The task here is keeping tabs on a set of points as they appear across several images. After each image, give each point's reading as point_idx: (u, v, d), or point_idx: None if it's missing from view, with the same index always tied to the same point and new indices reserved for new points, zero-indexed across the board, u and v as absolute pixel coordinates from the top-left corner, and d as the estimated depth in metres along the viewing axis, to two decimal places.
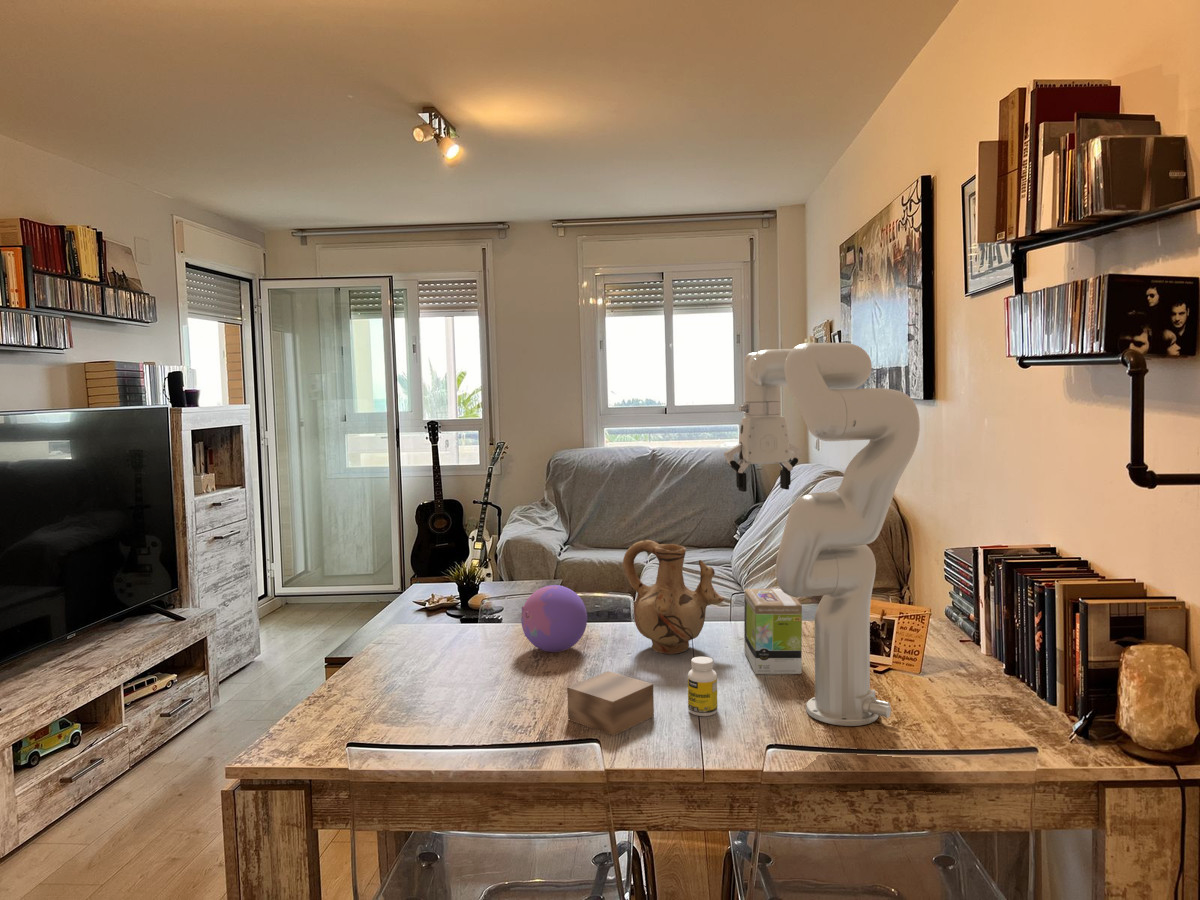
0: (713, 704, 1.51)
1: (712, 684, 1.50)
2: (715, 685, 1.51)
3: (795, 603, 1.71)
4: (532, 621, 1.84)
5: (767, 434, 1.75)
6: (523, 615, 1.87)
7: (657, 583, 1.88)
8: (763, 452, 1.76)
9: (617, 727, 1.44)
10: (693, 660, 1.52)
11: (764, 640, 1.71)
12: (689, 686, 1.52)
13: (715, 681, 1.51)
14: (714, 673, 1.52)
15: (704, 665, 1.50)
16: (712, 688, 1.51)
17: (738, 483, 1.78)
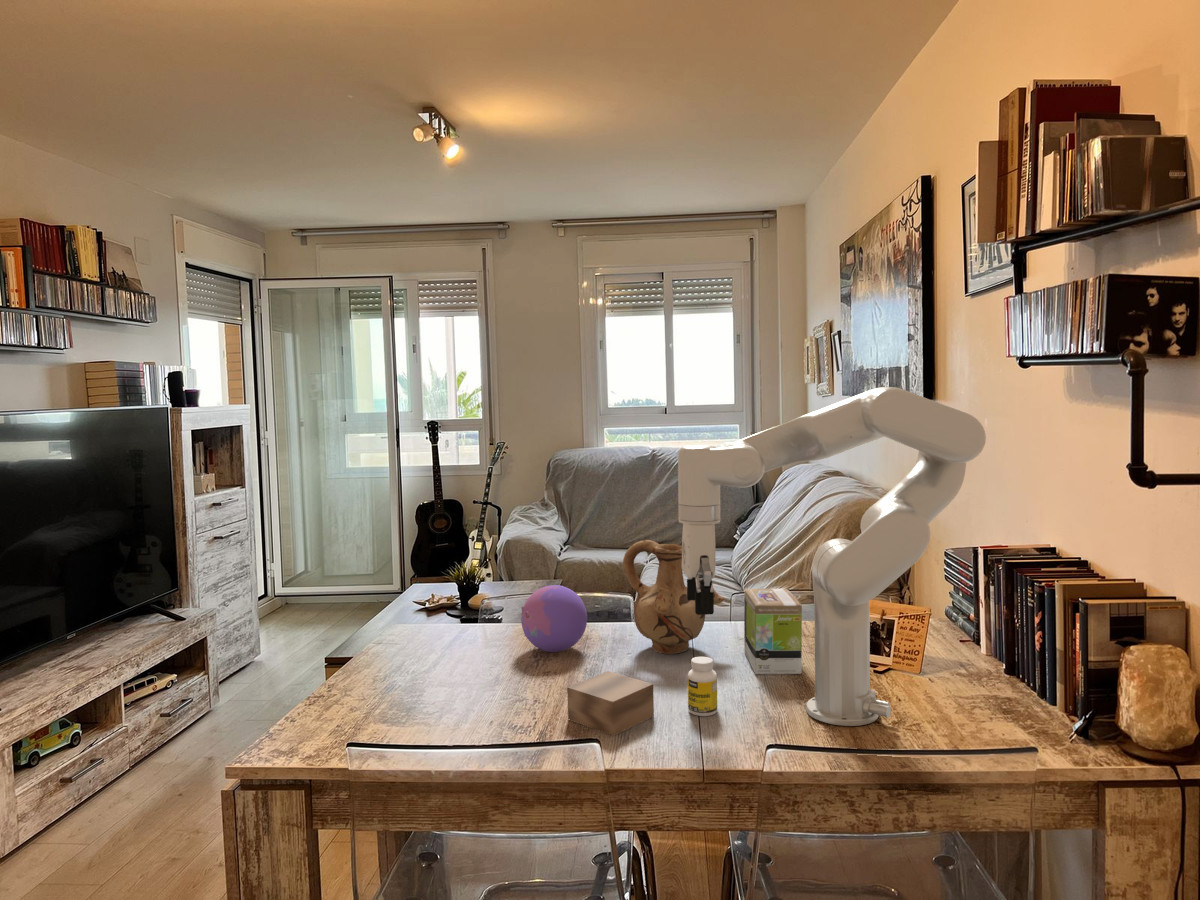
0: (713, 704, 1.51)
1: (712, 684, 1.50)
2: (715, 685, 1.51)
3: (795, 603, 1.71)
4: (532, 621, 1.84)
5: (684, 541, 1.51)
6: (523, 615, 1.87)
7: (657, 583, 1.88)
8: (683, 560, 1.52)
9: (617, 727, 1.44)
10: (692, 660, 1.52)
11: (764, 640, 1.71)
12: (689, 686, 1.52)
13: (715, 681, 1.51)
14: (714, 673, 1.52)
15: (704, 665, 1.50)
16: (712, 688, 1.51)
17: None
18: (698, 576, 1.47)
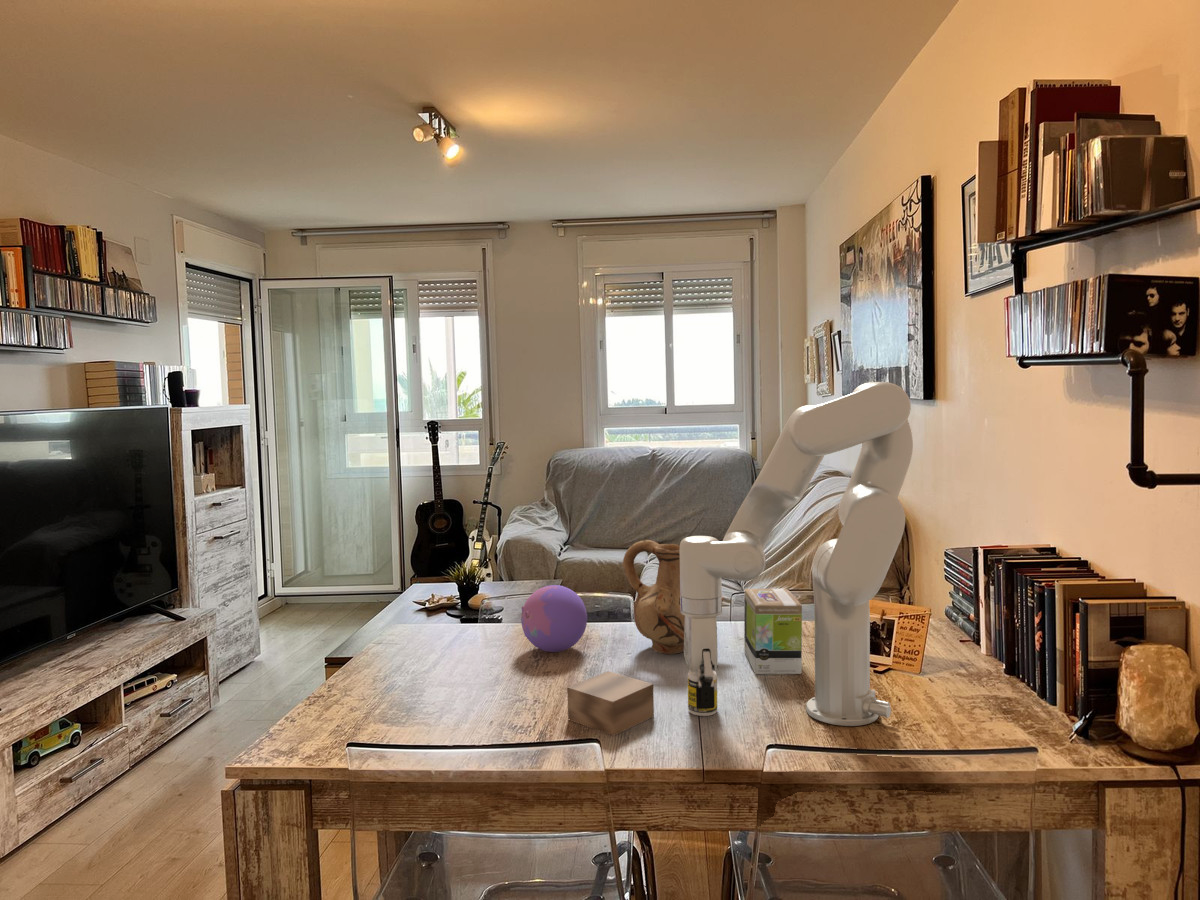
0: None
1: None
2: (715, 685, 1.51)
3: (795, 603, 1.71)
4: (532, 621, 1.84)
5: (686, 631, 1.52)
6: (523, 615, 1.87)
7: (657, 583, 1.88)
8: (685, 650, 1.53)
9: (617, 727, 1.44)
10: None
11: (764, 640, 1.71)
12: (689, 686, 1.52)
13: (715, 681, 1.51)
14: (714, 673, 1.52)
15: None
16: None
17: None
18: (699, 671, 1.49)
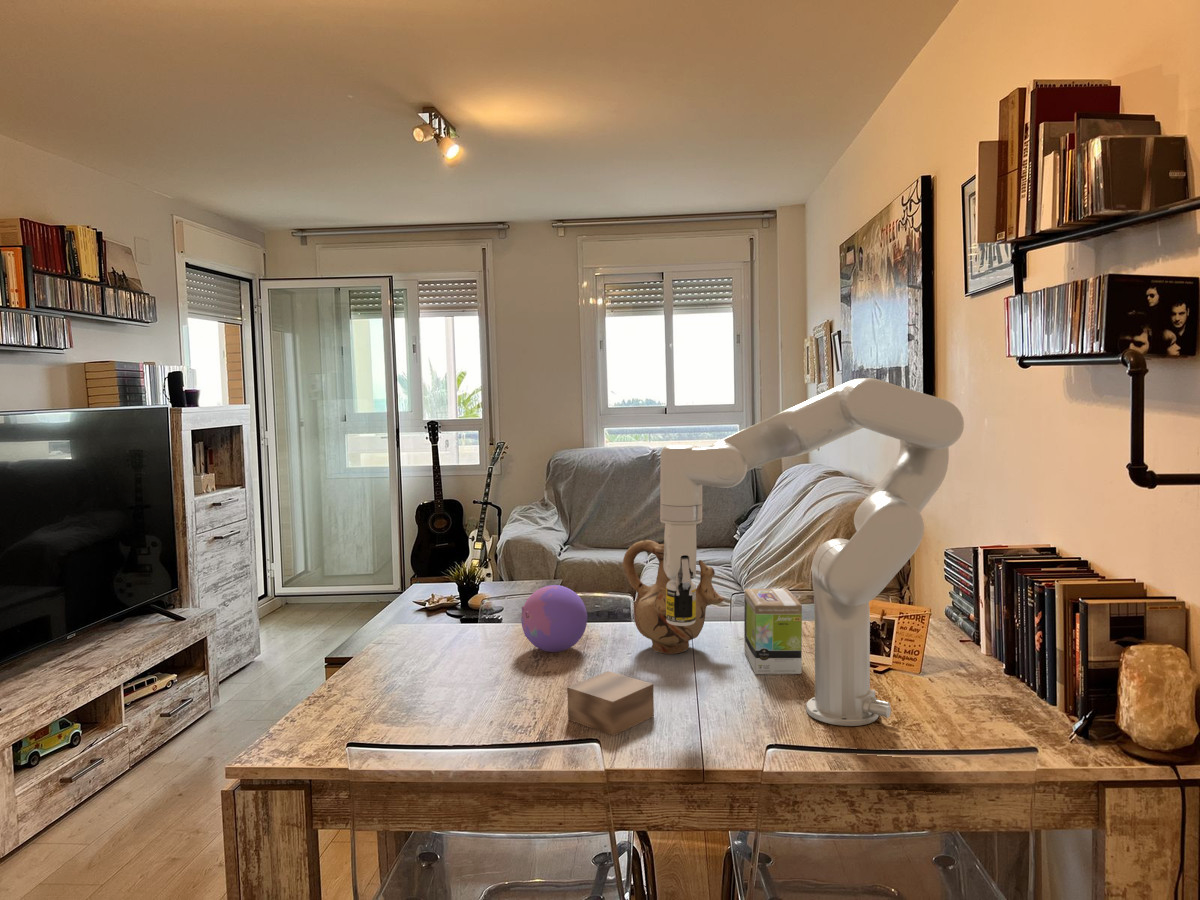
0: None
1: None
2: (693, 595, 1.50)
3: (795, 603, 1.71)
4: (532, 621, 1.84)
5: (665, 540, 1.50)
6: (523, 615, 1.87)
7: (657, 583, 1.88)
8: (664, 560, 1.52)
9: (617, 727, 1.44)
10: None
11: (764, 640, 1.71)
12: (667, 596, 1.50)
13: (694, 591, 1.49)
14: (693, 583, 1.50)
15: None
16: None
17: None
18: (678, 579, 1.47)
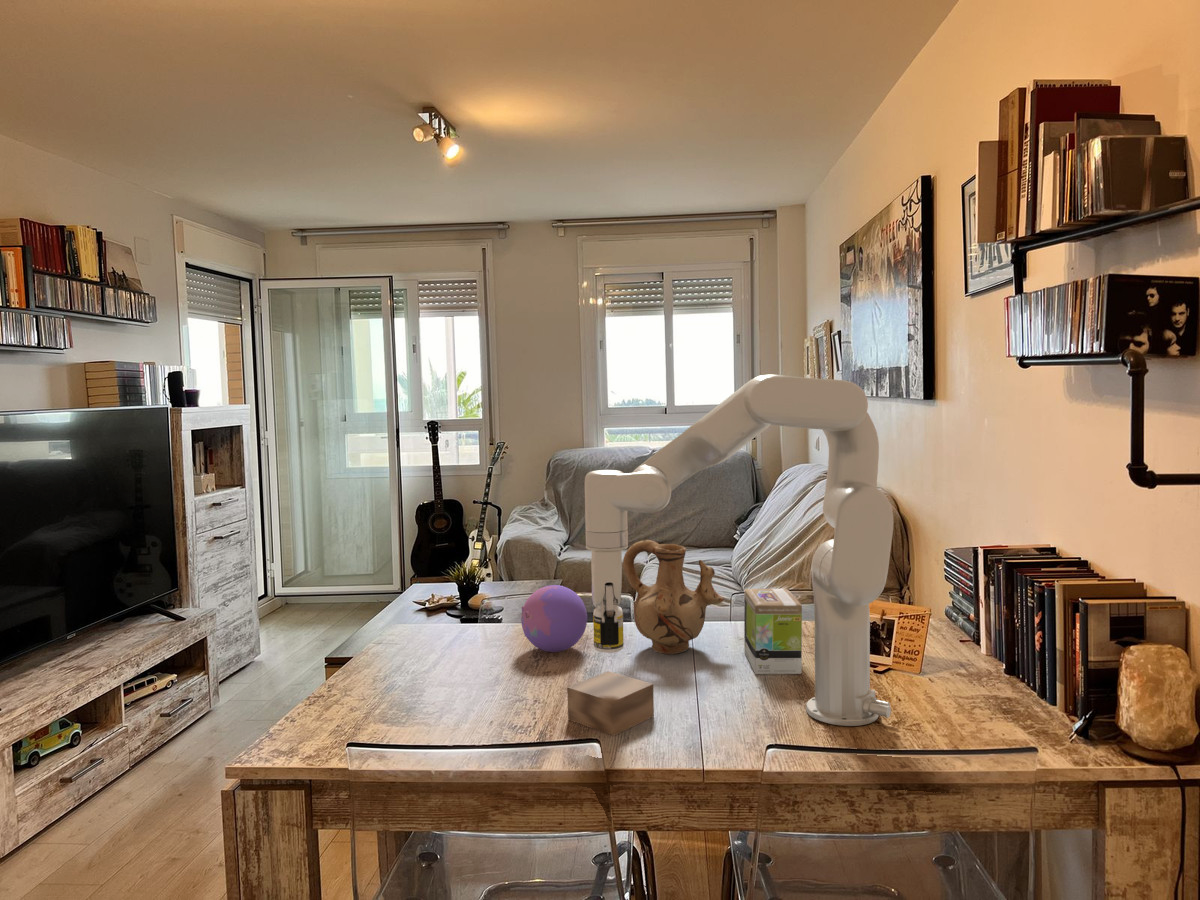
0: None
1: (617, 620, 1.47)
2: (620, 621, 1.48)
3: (795, 603, 1.71)
4: (532, 621, 1.84)
5: (591, 567, 1.49)
6: (523, 615, 1.87)
7: (657, 583, 1.88)
8: None
9: (617, 727, 1.44)
10: None
11: (764, 640, 1.71)
12: (594, 622, 1.49)
13: (620, 617, 1.48)
14: (619, 609, 1.49)
15: None
16: None
17: None
18: (603, 606, 1.46)
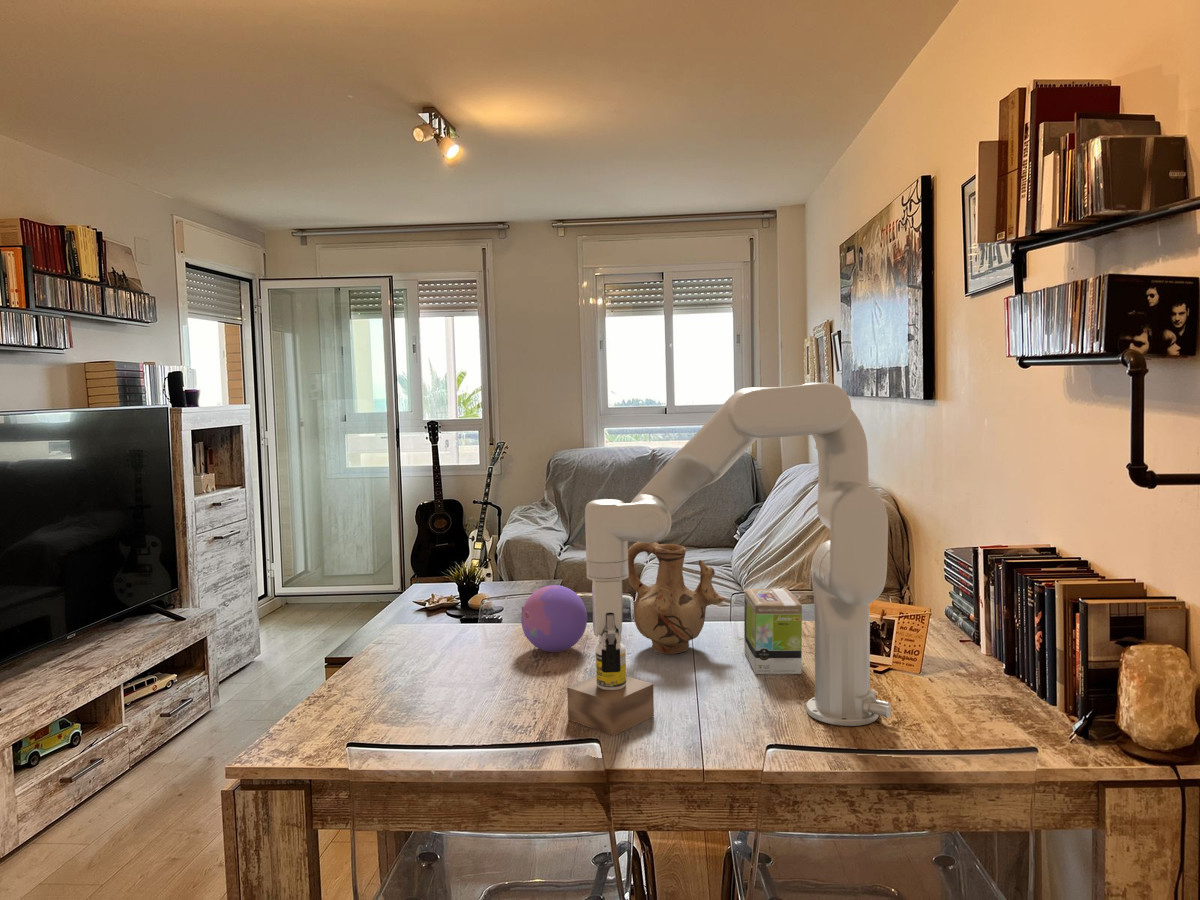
0: (620, 678, 1.48)
1: None
2: (622, 659, 1.48)
3: (795, 603, 1.71)
4: (532, 621, 1.84)
5: None
6: (523, 615, 1.87)
7: (657, 583, 1.88)
8: None
9: (617, 727, 1.44)
10: None
11: (764, 640, 1.71)
12: (596, 660, 1.49)
13: (622, 655, 1.48)
14: (622, 647, 1.49)
15: None
16: None
17: None
18: (604, 633, 1.45)
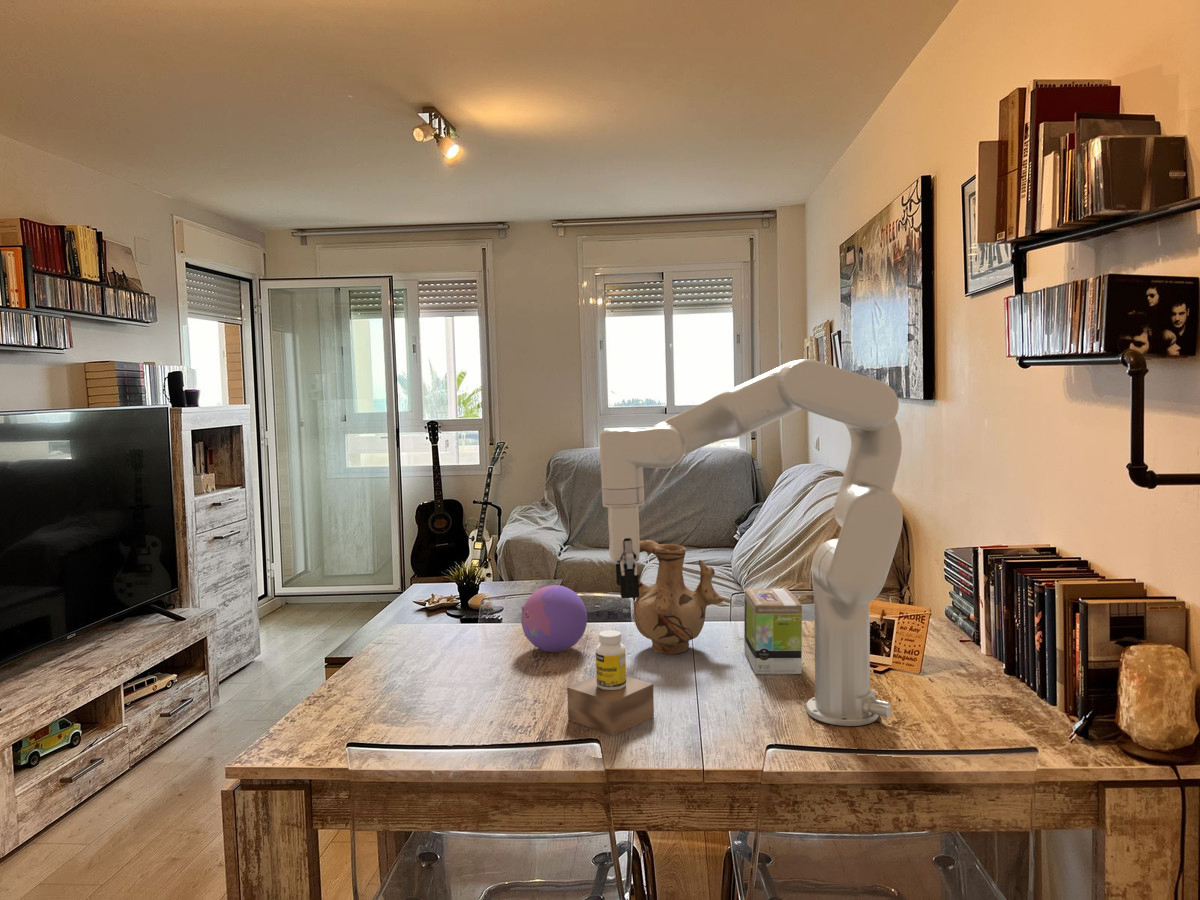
0: (620, 678, 1.48)
1: (619, 657, 1.48)
2: (622, 659, 1.48)
3: (795, 603, 1.71)
4: (532, 621, 1.84)
5: None
6: (523, 615, 1.87)
7: (657, 583, 1.88)
8: (609, 545, 1.51)
9: (617, 727, 1.44)
10: (600, 633, 1.49)
11: (764, 640, 1.71)
12: (596, 660, 1.49)
13: (622, 655, 1.48)
14: (622, 647, 1.49)
15: (611, 638, 1.48)
16: (619, 662, 1.48)
17: None
18: (622, 559, 1.46)
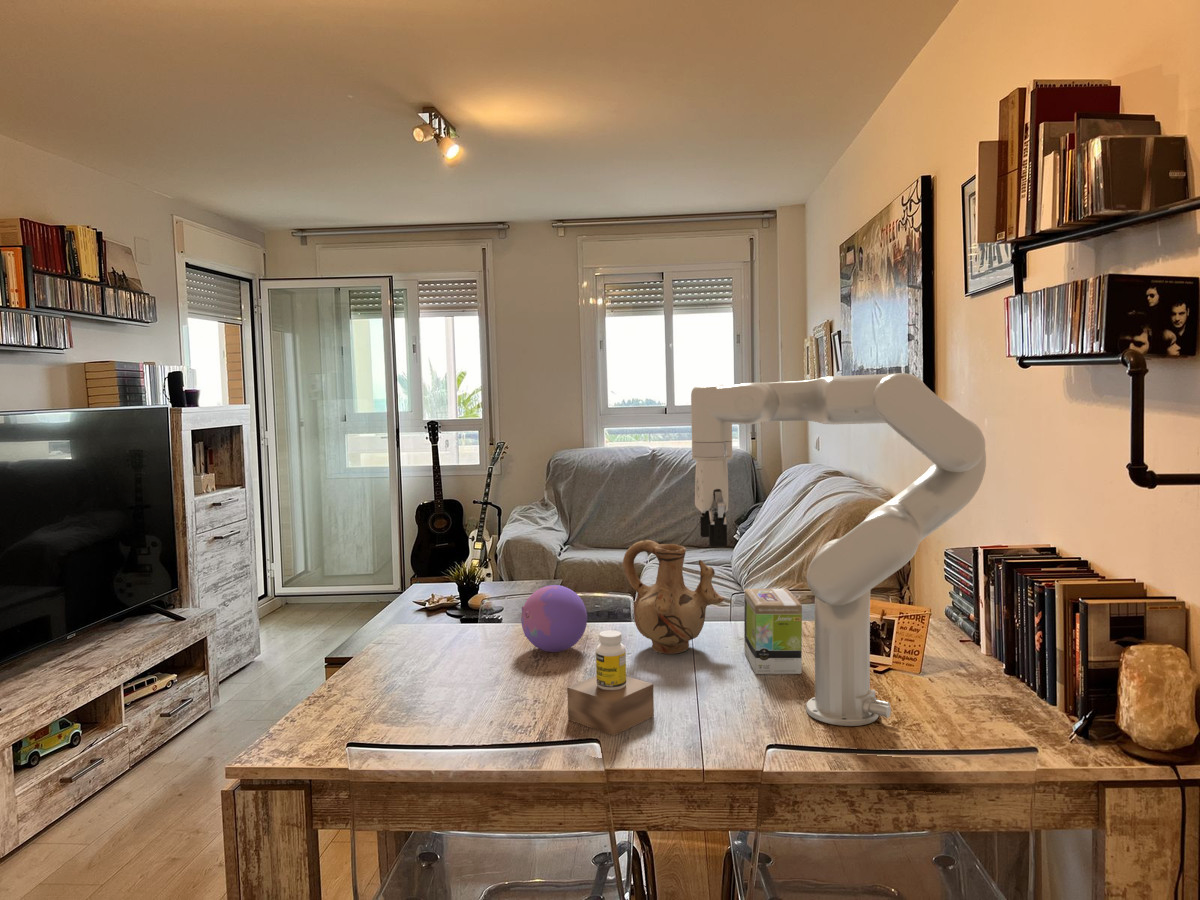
0: (620, 678, 1.48)
1: (619, 658, 1.48)
2: (622, 659, 1.48)
3: (795, 603, 1.71)
4: (532, 621, 1.84)
5: (697, 477, 1.56)
6: (523, 615, 1.87)
7: (657, 583, 1.88)
8: (696, 497, 1.58)
9: (617, 727, 1.44)
10: (600, 633, 1.49)
11: (764, 640, 1.71)
12: (596, 660, 1.49)
13: (622, 655, 1.48)
14: (622, 647, 1.49)
15: (611, 638, 1.48)
16: (619, 662, 1.48)
17: None
18: (712, 509, 1.52)
